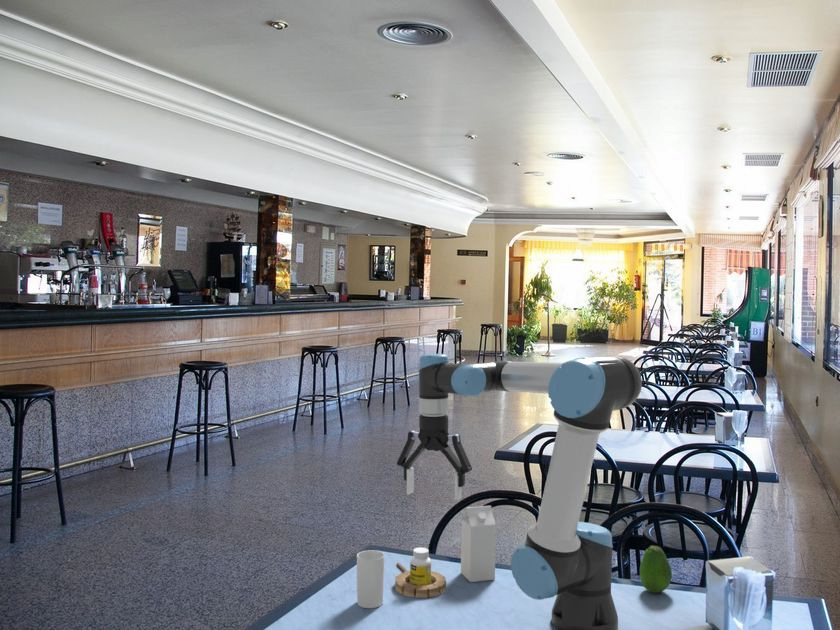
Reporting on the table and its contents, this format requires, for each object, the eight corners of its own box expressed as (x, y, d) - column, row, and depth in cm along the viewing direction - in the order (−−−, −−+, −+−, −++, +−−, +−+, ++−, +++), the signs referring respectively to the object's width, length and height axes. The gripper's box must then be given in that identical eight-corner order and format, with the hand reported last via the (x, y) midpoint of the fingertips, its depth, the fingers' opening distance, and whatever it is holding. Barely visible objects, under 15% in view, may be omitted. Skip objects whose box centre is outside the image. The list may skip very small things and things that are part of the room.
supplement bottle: (406, 588, 197) (406, 551, 197) (416, 581, 202) (416, 544, 201) (424, 593, 195) (425, 555, 194) (434, 585, 199) (435, 548, 199)
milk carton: (460, 573, 208) (461, 503, 207) (484, 570, 210) (486, 502, 210) (470, 582, 202) (471, 511, 201) (495, 580, 204) (496, 509, 203)
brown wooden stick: (412, 577, 204) (412, 575, 204) (410, 578, 204) (410, 576, 204) (399, 564, 214) (399, 562, 214) (396, 565, 213) (396, 563, 213)
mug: (379, 610, 184) (380, 561, 183) (352, 607, 185) (353, 558, 185) (389, 593, 194) (390, 547, 193) (364, 591, 195) (364, 544, 195)
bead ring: (454, 583, 201) (454, 575, 201) (431, 601, 189) (431, 593, 189) (410, 574, 207) (410, 566, 207) (386, 590, 195) (386, 583, 195)
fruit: (677, 593, 197) (679, 547, 196) (659, 601, 192) (660, 553, 191) (650, 583, 203) (652, 538, 202) (632, 590, 198) (633, 545, 197)
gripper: (484, 415, 195) (484, 498, 196) (397, 409, 206) (397, 487, 207) (473, 419, 188) (473, 505, 189) (384, 412, 199) (384, 494, 200)
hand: (433, 496), depth 198 cm, fingers open, 13 cm apart
